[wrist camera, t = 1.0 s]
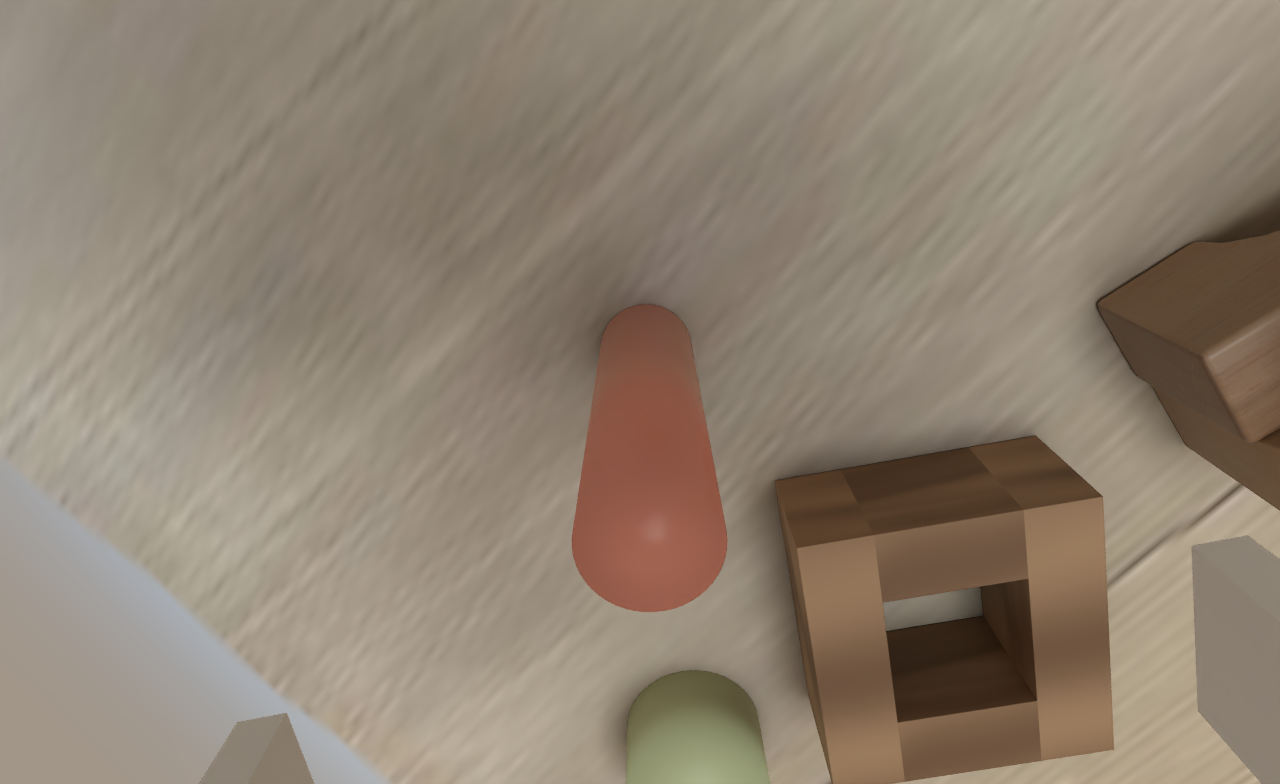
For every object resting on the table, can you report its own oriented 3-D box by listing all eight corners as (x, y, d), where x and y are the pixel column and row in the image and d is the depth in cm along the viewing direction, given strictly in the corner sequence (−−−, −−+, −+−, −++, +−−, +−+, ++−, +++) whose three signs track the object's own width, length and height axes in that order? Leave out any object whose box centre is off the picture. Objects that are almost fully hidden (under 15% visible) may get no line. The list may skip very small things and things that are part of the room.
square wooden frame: (774, 480, 33) (796, 548, 29) (1036, 435, 33) (1103, 496, 28) (809, 697, 36) (834, 792, 31) (1050, 659, 36) (1113, 749, 31)
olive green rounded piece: (615, 681, 36) (612, 752, 32) (748, 660, 36) (760, 729, 32) (640, 789, 37) (640, 869, 34) (767, 769, 37) (781, 848, 33)
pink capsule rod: (592, 313, 31) (556, 486, 18) (682, 296, 31) (713, 459, 18) (610, 398, 32) (589, 623, 19) (698, 383, 32) (738, 598, 19)
